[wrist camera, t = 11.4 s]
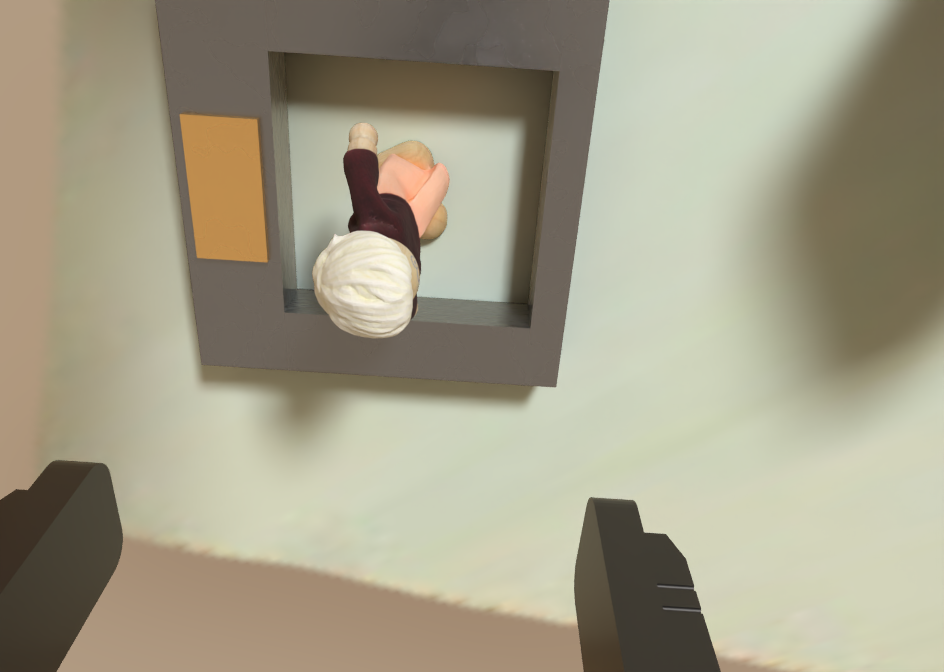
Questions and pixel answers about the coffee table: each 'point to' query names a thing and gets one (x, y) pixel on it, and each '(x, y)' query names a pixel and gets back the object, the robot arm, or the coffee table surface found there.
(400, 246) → the grandmother figurine
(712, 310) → the coffee table surface
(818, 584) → the coffee table surface
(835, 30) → the coffee table surface
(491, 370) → the holder board
